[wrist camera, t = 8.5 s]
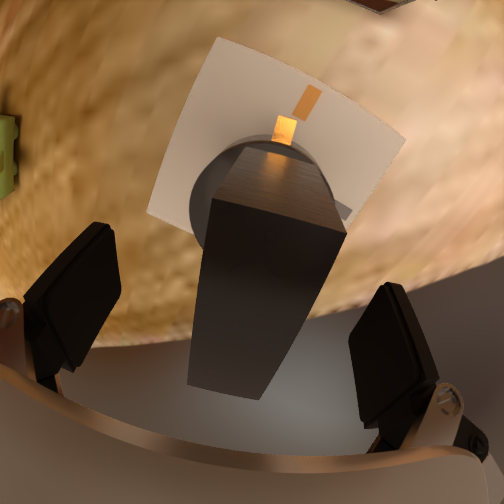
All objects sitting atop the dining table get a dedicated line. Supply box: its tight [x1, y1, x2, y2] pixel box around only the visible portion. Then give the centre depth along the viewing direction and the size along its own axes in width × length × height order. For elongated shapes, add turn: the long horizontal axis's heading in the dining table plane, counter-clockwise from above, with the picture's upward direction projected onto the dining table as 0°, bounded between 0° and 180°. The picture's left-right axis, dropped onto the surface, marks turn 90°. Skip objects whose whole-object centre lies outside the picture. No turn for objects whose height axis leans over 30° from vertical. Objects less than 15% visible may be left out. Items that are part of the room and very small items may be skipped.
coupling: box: [187, 115, 347, 400], centre depth 12 cm, size 9×8×12 cm
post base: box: [146, 37, 406, 235], centre depth 21 cm, size 18×18×7 cm
